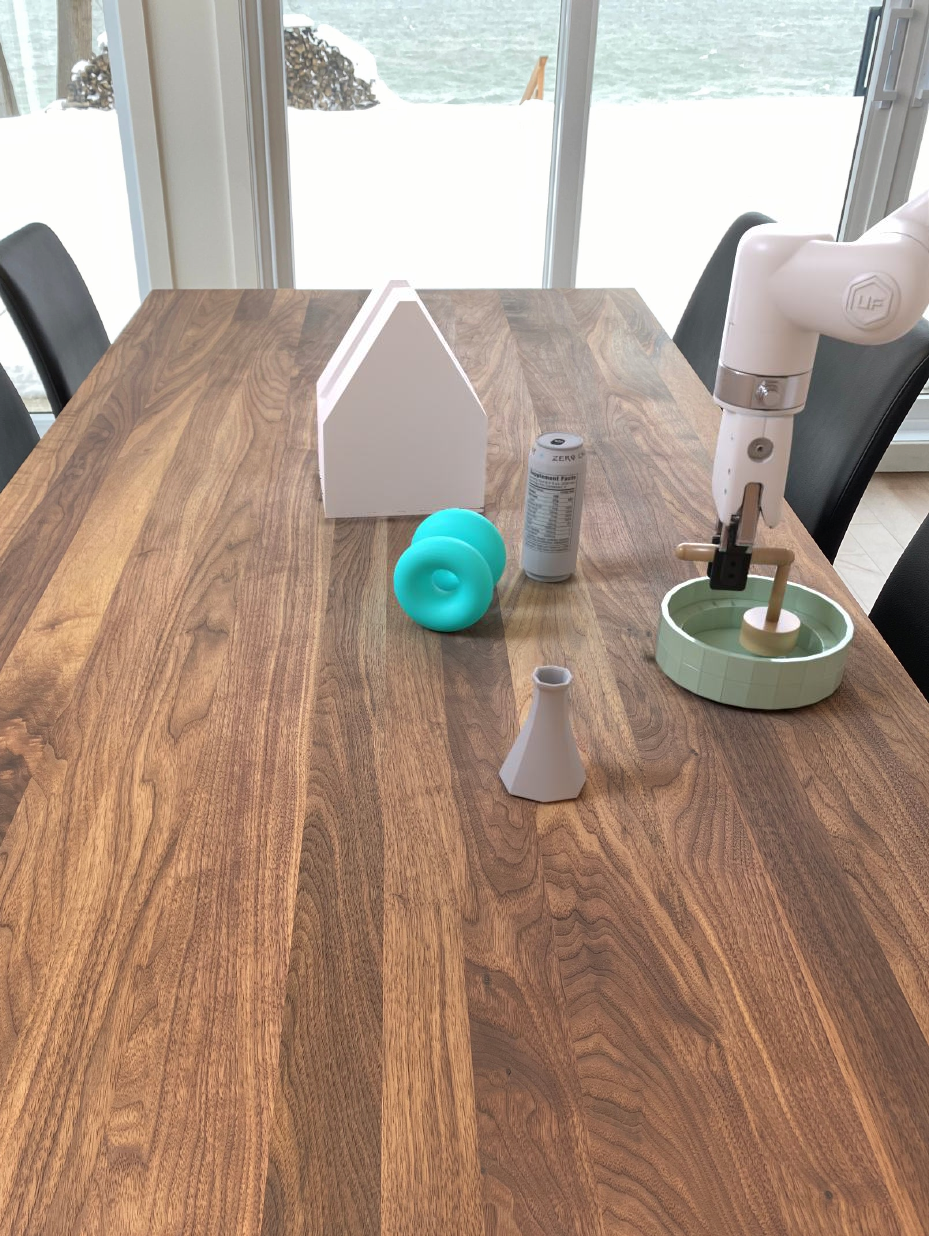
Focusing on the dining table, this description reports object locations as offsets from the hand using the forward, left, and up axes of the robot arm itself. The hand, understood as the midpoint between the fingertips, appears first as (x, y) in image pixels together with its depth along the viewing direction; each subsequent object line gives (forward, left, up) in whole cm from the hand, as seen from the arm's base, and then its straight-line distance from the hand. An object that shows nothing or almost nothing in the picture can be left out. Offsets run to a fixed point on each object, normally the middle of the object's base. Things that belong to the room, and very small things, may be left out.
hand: (725, 582), depth 109 cm
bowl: (-3, +1, -8) cm, 9 cm away
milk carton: (+35, -38, -8) cm, 52 cm away
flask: (+16, +22, -8) cm, 28 cm away
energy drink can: (+16, -17, -8) cm, 25 cm away
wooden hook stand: (-1, 0, -6) cm, 6 cm away
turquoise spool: (+26, -6, -8) cm, 28 cm away
